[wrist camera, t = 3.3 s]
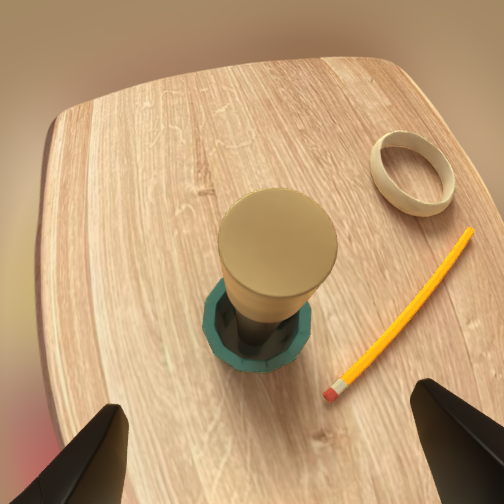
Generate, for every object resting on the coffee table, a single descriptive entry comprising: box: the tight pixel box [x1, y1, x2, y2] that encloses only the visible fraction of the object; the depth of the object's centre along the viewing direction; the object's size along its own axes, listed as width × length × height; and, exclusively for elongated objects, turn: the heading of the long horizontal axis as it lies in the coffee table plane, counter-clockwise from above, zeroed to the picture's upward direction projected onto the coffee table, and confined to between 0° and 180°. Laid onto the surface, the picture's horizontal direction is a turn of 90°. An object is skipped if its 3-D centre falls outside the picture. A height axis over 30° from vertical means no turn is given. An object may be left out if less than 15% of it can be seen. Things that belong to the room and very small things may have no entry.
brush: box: [218, 188, 338, 346], centre depth 13 cm, size 2×2×14 cm
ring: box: [370, 131, 456, 217], centre depth 24 cm, size 8×8×2 cm
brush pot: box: [202, 277, 311, 373], centre depth 17 cm, size 5×5×5 cm
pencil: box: [323, 227, 474, 403], centre depth 20 cm, size 1×18×1 cm, turn 130°
